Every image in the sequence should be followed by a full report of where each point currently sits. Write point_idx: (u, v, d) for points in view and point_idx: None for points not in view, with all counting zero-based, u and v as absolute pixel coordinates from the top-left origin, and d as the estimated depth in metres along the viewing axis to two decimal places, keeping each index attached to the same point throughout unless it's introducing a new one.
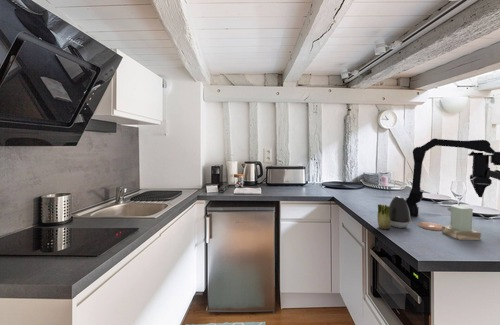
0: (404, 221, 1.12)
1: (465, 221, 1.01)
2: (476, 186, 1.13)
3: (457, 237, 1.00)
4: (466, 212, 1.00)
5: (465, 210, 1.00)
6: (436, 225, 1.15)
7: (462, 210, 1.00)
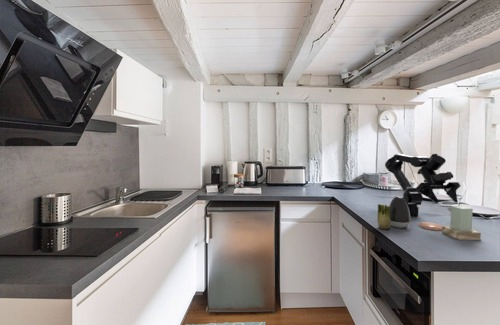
0: (404, 221, 1.12)
1: (465, 221, 1.01)
2: (426, 194, 1.16)
3: (457, 237, 1.00)
4: (466, 212, 1.00)
5: (465, 210, 1.00)
6: (436, 225, 1.15)
7: (462, 210, 1.00)
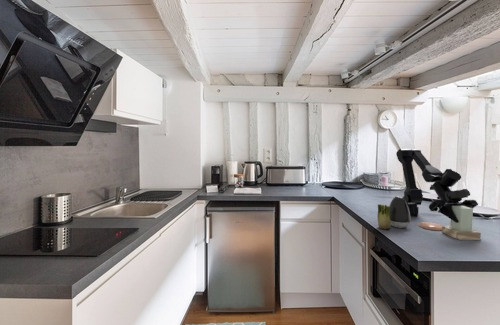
0: (404, 221, 1.12)
1: (465, 221, 1.01)
2: (444, 213, 1.07)
3: (457, 237, 1.00)
4: (466, 212, 1.00)
5: (465, 210, 1.00)
6: (436, 225, 1.15)
7: (462, 210, 1.00)
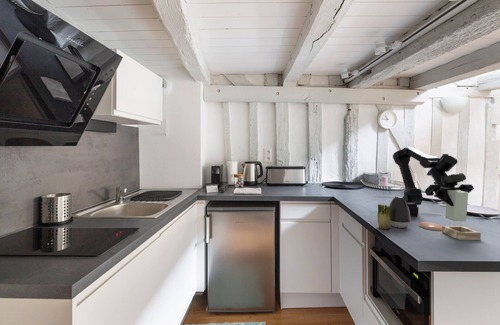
0: (404, 221, 1.12)
1: (460, 205, 1.02)
2: (440, 197, 1.08)
3: (457, 237, 1.00)
4: (461, 196, 1.02)
5: (460, 194, 1.02)
6: (436, 225, 1.15)
7: (457, 194, 1.02)
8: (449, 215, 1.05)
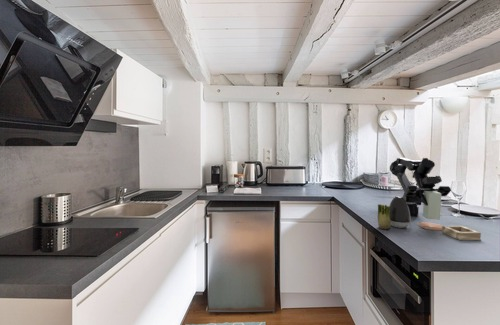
0: (404, 221, 1.12)
1: (433, 204, 1.12)
2: (418, 197, 1.19)
3: (457, 237, 1.00)
4: (434, 196, 1.12)
5: (433, 194, 1.12)
6: (436, 225, 1.15)
7: (430, 194, 1.12)
8: (425, 213, 1.16)
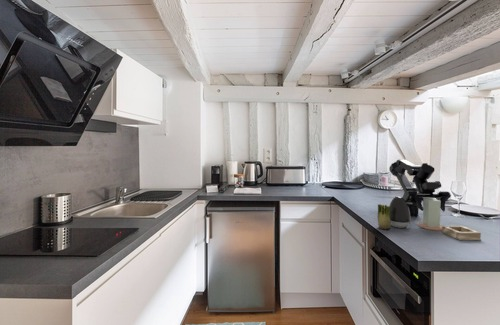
0: (404, 221, 1.12)
1: (433, 212, 1.13)
2: (413, 202, 1.19)
3: (457, 237, 1.00)
4: (434, 204, 1.12)
5: (433, 202, 1.12)
6: None
7: (430, 202, 1.13)
8: (425, 221, 1.16)
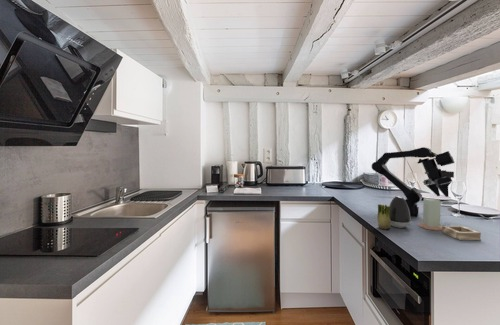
0: (404, 221, 1.12)
1: (433, 212, 1.13)
2: (440, 187, 1.21)
3: (457, 237, 1.00)
4: (434, 204, 1.12)
5: (433, 202, 1.12)
6: None
7: (430, 202, 1.13)
8: (425, 221, 1.16)
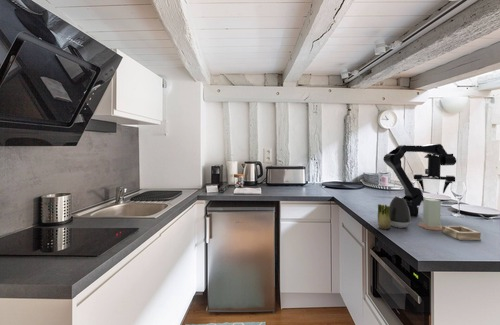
0: (404, 221, 1.12)
1: (433, 212, 1.13)
2: None
3: (457, 237, 1.00)
4: (434, 204, 1.12)
5: (433, 202, 1.12)
6: None
7: (430, 202, 1.13)
8: (425, 221, 1.16)
